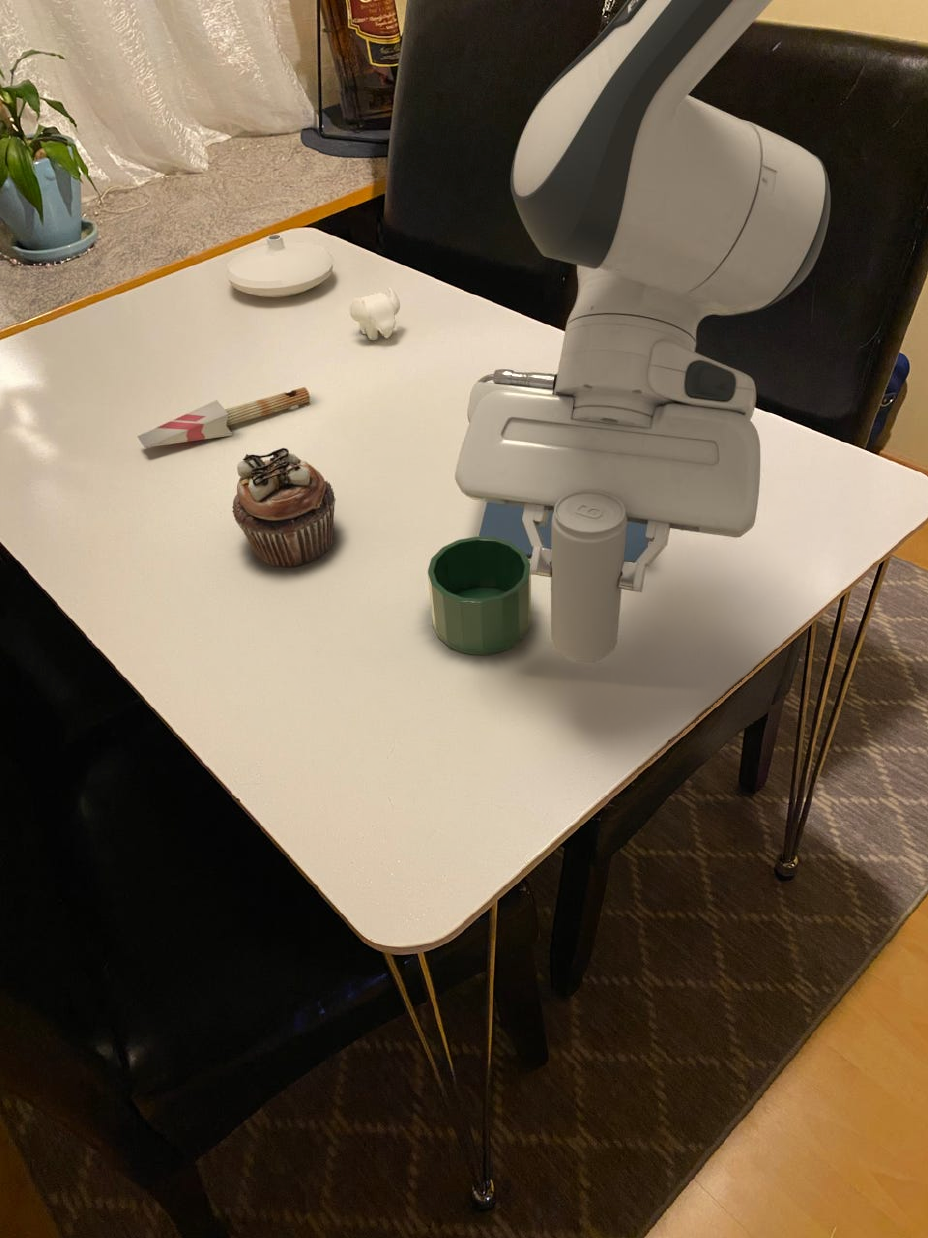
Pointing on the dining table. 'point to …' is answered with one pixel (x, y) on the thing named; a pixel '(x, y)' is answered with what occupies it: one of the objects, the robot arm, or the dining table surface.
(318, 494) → the cupcake
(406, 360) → the dining table surface
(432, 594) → the green round pot
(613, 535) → the beverage can
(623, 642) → the dining table surface
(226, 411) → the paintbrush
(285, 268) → the vase
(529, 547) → the mat
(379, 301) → the elephant figurine
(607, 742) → the dining table surface
